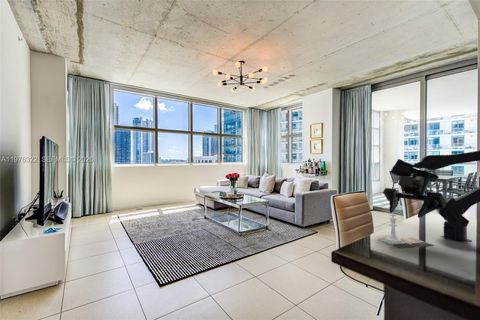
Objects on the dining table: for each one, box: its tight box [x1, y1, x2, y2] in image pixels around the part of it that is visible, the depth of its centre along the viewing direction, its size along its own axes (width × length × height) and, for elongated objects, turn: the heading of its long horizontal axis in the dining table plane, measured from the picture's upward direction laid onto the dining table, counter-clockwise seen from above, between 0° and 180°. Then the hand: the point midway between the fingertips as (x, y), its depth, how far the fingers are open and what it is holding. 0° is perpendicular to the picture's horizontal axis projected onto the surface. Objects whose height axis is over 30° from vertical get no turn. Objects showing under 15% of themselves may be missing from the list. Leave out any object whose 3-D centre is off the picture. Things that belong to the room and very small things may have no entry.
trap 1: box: [392, 244, 417, 249], centre depth 74 cm, size 6×3×1 cm, turn 102°
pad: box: [379, 238, 407, 246], centre depth 79 cm, size 7×5×1 cm
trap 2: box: [411, 241, 434, 248], centre depth 76 cm, size 6×3×1 cm, turn 102°
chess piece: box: [384, 212, 402, 244], centre depth 79 cm, size 5×5×10 cm
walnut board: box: [378, 237, 437, 250], centre depth 78 cm, size 15×8×1 cm, turn 102°
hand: (403, 214), depth 82 cm, fingers open, 9 cm apart
